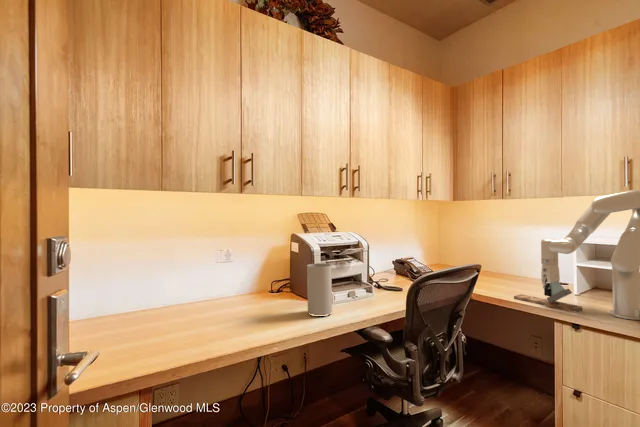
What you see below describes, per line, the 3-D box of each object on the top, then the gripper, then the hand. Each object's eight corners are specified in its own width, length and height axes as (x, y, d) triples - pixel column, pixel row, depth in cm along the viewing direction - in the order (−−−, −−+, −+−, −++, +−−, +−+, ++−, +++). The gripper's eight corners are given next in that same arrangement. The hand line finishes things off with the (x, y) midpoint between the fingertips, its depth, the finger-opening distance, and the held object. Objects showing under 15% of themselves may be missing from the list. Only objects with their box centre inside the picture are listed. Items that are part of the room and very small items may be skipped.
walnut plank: (582, 309, 164) (582, 306, 164) (574, 311, 161) (574, 308, 161) (521, 296, 191) (521, 294, 191) (513, 298, 187) (513, 296, 187)
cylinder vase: (316, 308, 173) (315, 262, 173) (336, 312, 166) (335, 264, 166) (302, 315, 162) (302, 266, 162) (323, 319, 155) (322, 267, 156)
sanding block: (572, 292, 167) (560, 278, 172) (566, 294, 164) (555, 279, 169) (555, 301, 174) (544, 286, 179) (549, 302, 171) (538, 288, 176)
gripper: (549, 263, 166) (550, 299, 166) (565, 261, 175) (565, 294, 174) (534, 262, 173) (534, 295, 173) (549, 259, 181) (550, 291, 181)
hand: (550, 294), depth 174 cm, fingers closed on sanding block, 4 cm apart
